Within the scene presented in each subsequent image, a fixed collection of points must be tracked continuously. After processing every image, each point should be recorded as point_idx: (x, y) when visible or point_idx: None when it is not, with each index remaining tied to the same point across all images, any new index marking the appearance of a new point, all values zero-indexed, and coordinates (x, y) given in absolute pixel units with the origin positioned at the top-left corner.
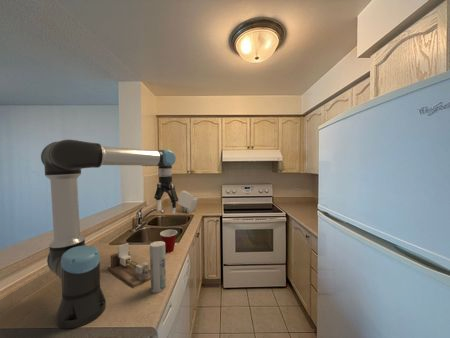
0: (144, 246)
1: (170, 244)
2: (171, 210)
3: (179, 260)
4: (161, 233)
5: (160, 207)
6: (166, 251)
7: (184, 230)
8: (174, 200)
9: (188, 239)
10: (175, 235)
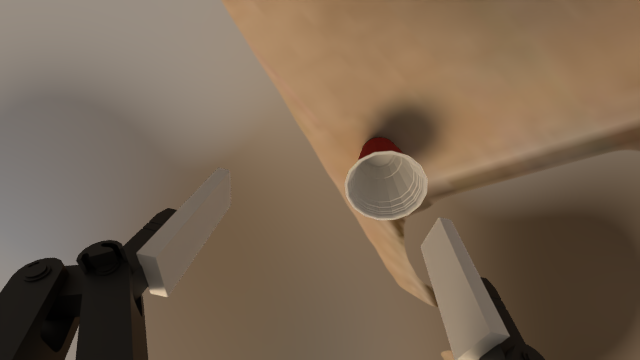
0: (505, 146)
1: (361, 153)
2: (201, 185)
3: (288, 102)
4: (421, 177)
5: (433, 261)
6: (377, 138)
7: (432, 291)
8: (25, 269)
9: (372, 240)
10: (350, 187)
